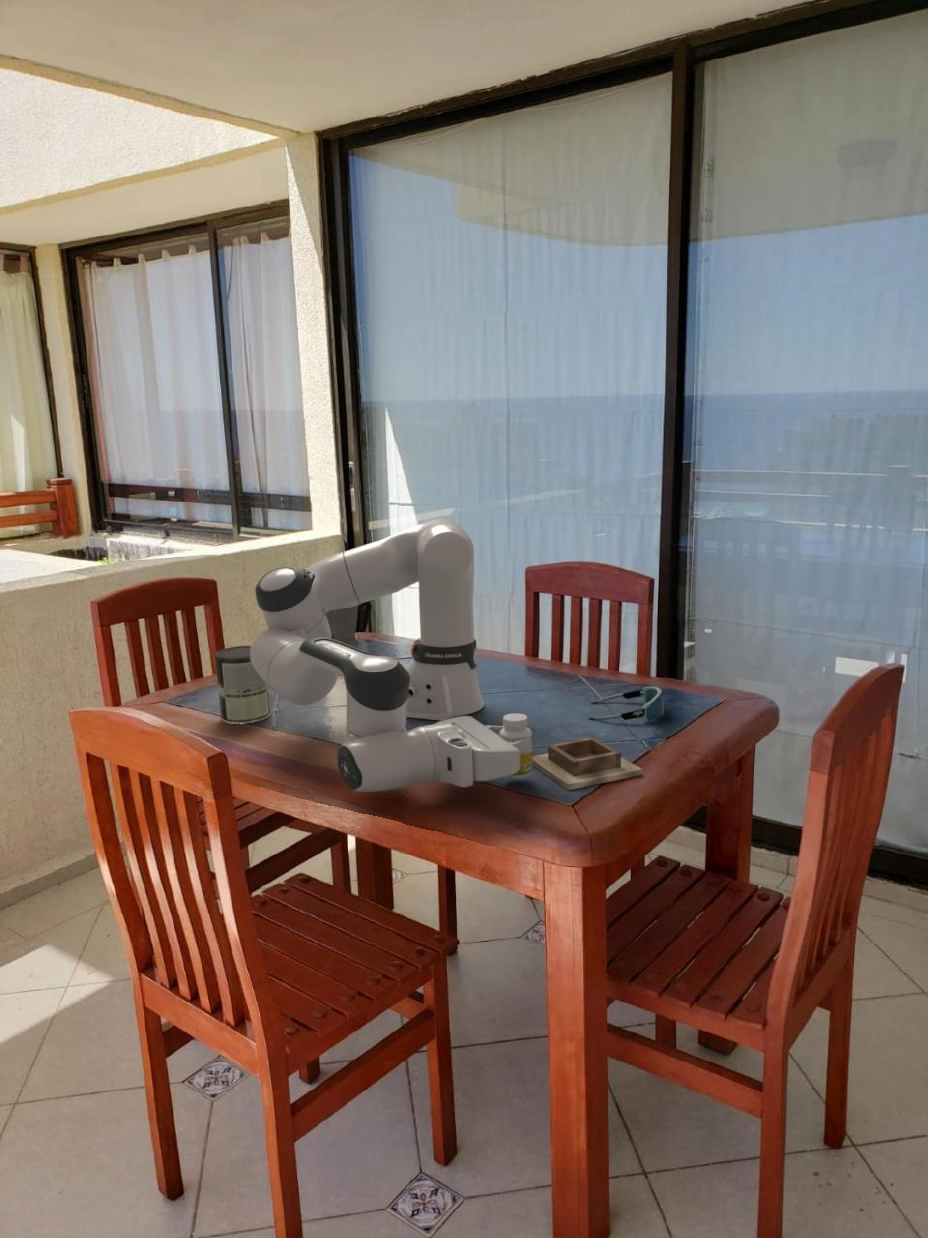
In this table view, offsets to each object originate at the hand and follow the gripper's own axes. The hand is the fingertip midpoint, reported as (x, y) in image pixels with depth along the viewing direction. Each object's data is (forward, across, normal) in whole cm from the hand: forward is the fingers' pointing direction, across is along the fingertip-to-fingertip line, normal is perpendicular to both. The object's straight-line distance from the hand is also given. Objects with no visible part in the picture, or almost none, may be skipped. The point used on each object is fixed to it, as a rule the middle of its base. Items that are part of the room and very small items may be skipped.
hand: (520, 737), depth 153 cm
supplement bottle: (-1, 0, -6) cm, 6 cm away
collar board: (+12, 0, -8) cm, 14 cm away
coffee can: (-35, -58, -8) cm, 68 cm away
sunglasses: (+35, -23, -8) cm, 43 cm away
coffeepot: (-4, -90, -8) cm, 91 cm away
